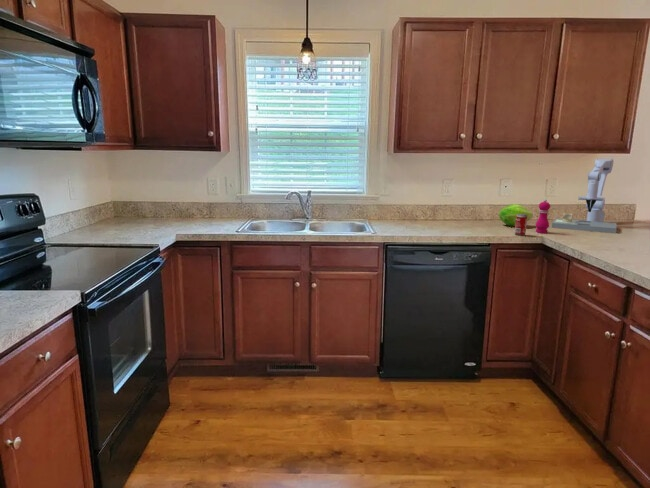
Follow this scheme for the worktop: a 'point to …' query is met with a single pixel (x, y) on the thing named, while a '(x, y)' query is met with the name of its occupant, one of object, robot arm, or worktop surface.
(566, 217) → the maple cube
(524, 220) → the beverage can
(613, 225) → the trap deck
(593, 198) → the robot arm
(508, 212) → the lettuce
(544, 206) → the pepper mill
